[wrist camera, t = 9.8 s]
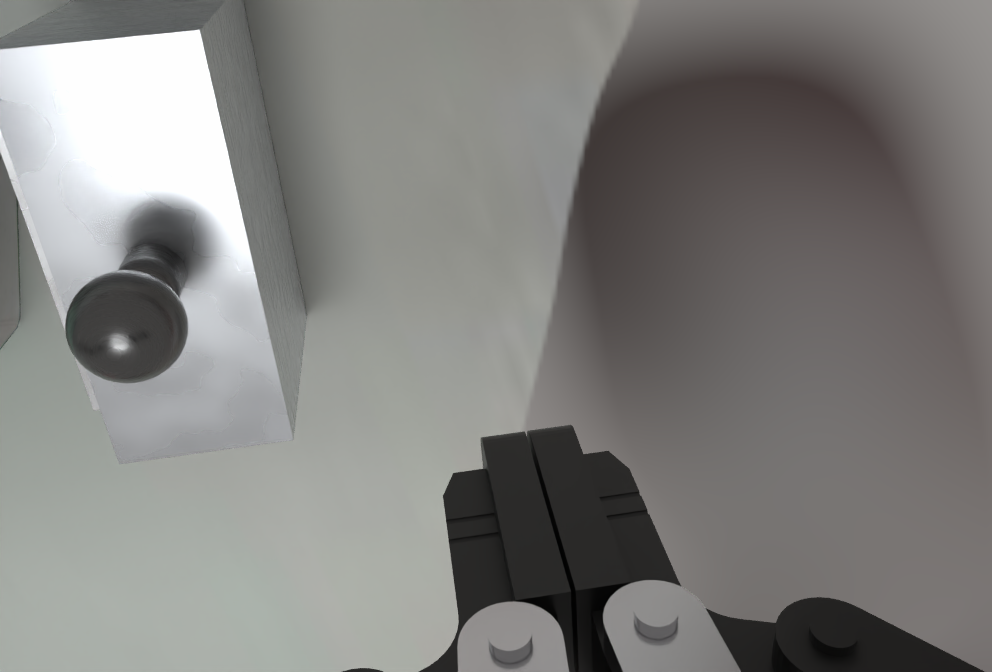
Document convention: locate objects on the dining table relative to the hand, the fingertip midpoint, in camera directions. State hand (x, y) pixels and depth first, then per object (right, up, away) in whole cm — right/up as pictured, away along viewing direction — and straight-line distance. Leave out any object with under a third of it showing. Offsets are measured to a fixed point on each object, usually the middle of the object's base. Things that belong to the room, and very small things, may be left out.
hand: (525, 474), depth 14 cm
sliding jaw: (-10, +8, +15) cm, 20 cm away
